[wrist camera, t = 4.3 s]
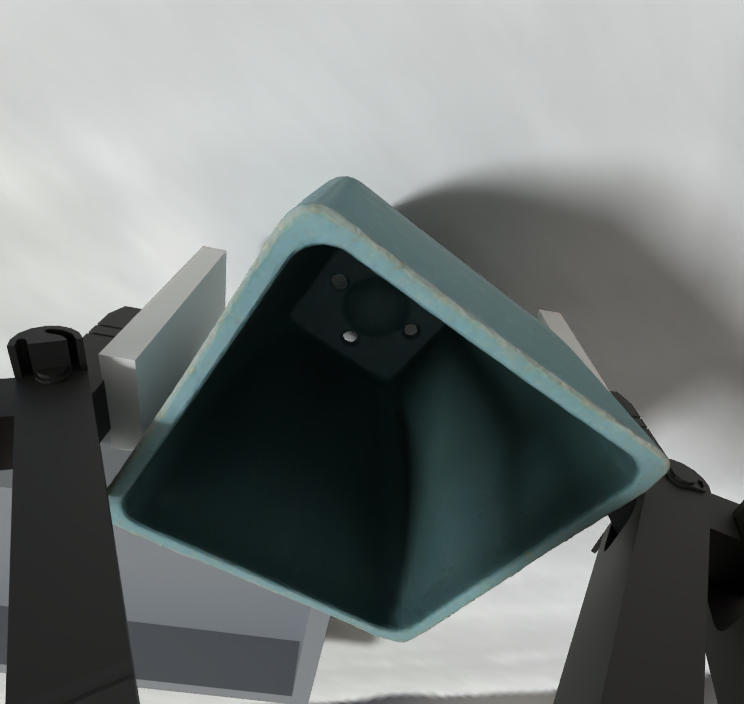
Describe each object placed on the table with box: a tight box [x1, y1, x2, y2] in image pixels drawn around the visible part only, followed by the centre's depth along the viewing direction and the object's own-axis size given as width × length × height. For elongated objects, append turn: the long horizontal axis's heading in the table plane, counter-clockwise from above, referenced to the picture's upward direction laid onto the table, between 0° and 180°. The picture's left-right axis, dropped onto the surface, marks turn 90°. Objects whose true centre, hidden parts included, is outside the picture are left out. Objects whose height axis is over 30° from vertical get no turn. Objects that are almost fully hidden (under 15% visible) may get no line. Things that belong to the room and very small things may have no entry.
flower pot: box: [107, 176, 670, 642], centre depth 14 cm, size 9×9×9 cm
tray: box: [0, 431, 330, 704], centre depth 24 cm, size 24×16×4 cm, turn 79°
